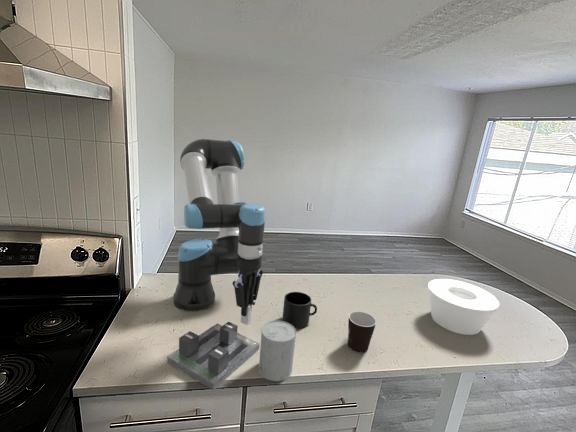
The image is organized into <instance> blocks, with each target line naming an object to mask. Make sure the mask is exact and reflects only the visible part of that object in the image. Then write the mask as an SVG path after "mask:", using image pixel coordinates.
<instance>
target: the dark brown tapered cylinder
mask: <svg viewBox="0 0 576 432" xmlns="http://www.w3.org/2000/svg"><path fill="white" fill-rule="evenodd" d="M376 325H377V319H376V318H375V317H374V316H373V315H372V314H370V313H368V312H365V311H360V310H358V311H357V310H356V311H351V312H350V313H349V314H348V327H347V329H348V331H347V345H348V346H347V347H348V349H350V350H352V351H353V352H355V353H359V354H361V353H366V352H367V351H368V350H369V346H370V344H371V341H372V338H373V335H374V331H375V327H376Z"/></svg>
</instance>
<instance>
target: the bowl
mask: <svg viewBox="0 0 576 432" xmlns="http://www.w3.org/2000/svg"><path fill="white" fill-rule="evenodd" d="M427 286H428V296H429V305H430V307H429V308H430V315H431V318H432V320H433V322H435V323H436V324H438V325H439V326H440V327H441V328H444V329H445V330H448V331H450V332H452V333H455V334H460V335H466V336H471V335H474V336H475V335H478V334H479V333H480V332H481V330H482V329H483V328H484V327H485V325H486V324H487V323H488V322H489V320H490V319H491V317H492V316H493V315H494V314H495V312H496V310H497V309H498V308H499V306H500V301H499V300H498V299H497V298H496V296H495V295H494V294H492V293H490V292H489V291H487V290H485V289H484V288H481V287H480V286H477V285H475V284H471V283H468V282H466V281H462V280H457V279H451V278H436V279H432V280H430V281H428V284H427Z"/></svg>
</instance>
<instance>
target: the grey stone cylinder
mask: <svg viewBox="0 0 576 432" xmlns="http://www.w3.org/2000/svg"><path fill="white" fill-rule="evenodd" d="M296 329H297V328H295V327H294V326H293V325H291V324H289V323H287V322H284V321H283V320H271V321H268V322H265V324H263V326H262V327H261V335H260V337H261V338H260V347H259V361H258V362H259V364H258V371H259V374H260V375H261V376H262V377H263V378H264V379H266V380H268V381H272V382H281V381H285V380H286V379H288V378H289V377H290V376H291V375H292V373H293V364H294V356H295V355H294V354H295V347H296V337H297V330H296Z"/></svg>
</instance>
